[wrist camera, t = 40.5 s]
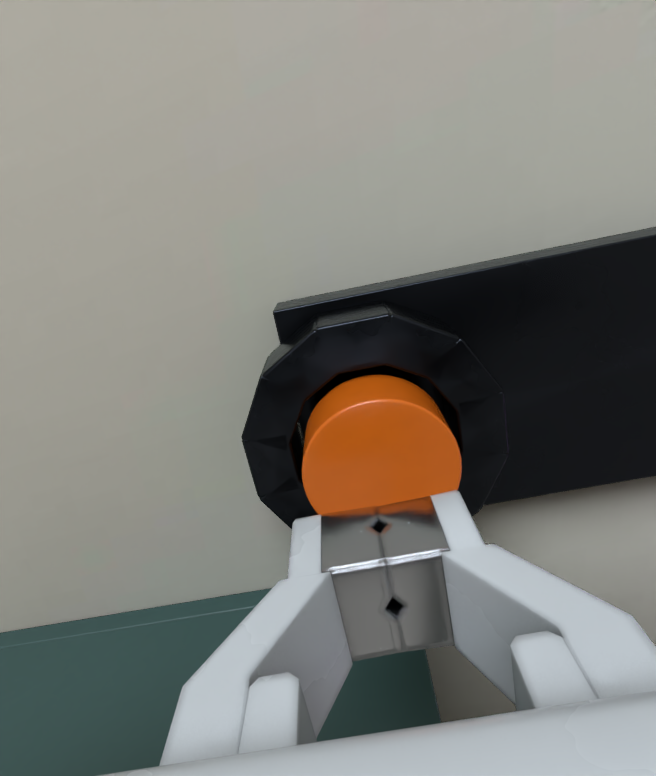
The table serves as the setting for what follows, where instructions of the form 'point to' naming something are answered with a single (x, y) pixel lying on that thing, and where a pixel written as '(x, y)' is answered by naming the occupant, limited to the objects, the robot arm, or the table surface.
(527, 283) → the block
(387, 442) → the button
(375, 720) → the chest
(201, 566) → the table surface
